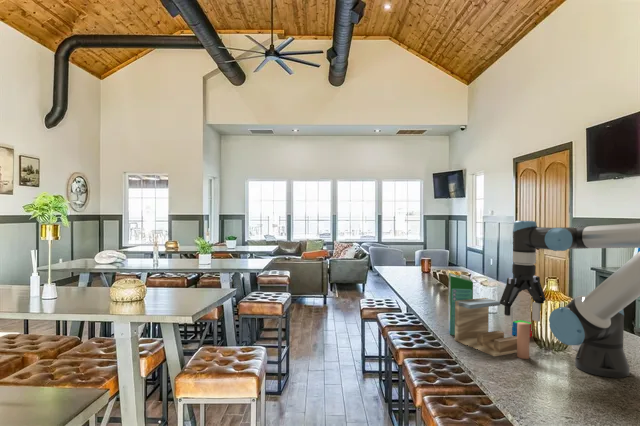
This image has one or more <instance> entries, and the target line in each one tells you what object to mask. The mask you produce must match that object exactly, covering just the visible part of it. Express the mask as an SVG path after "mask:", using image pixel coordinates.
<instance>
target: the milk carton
mask: <svg viewBox="0 0 640 426" xmlns="http://www.w3.org/2000/svg"><path fill="white" fill-rule="evenodd" d="M447 299H448V301H447V302H448V306H447V307H448V310H447V311H448V312H447V316H448V318H447V321H448V322H447V323H448V325H447V329H448V333H449V335H450V336H455V301H459V300H469V299H474V281H472V279H471V278H470V276H469V275H465V274H460V275H458V274H454V273H451V272H448V298H447Z"/></svg>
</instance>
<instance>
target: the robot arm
mask: <svg viewBox="0 0 640 426" xmlns="http://www.w3.org/2000/svg"><path fill="white" fill-rule="evenodd" d="M635 248H636V249H638V248H639V249H640V222H636V223H621V224H604V225H603V224H602V225H590V226H574V227H573V226H571V227H570V226H569V227H544V226H543V227H542V226H537V222H536V221H535V220H515V221H514V222H513V228H512V262H513V263H512V266H511V267H512V268H511V271H512V272H511V273H512V275H514V276H513V277H507V278H506V285H505V287H504V290H503V293H502V296H501V297H500V305H502V306H504V311H503V312H504V313H503V314H504V315H505V316H504V324H505V325H509V326H511V327H512V325H513V322H514V306H513V304H514V302H515V300H516V298H517V297H518V295H519V294H520V293H521V292H522V291H527V292H528V293H529V296H530V297H531V298H532V300H533V301H532V307H531V308H532V310H531V311H532V312H531V314H532V315H531V320H532V321H536V322H540V321H541V311H542V308H541V307H542V305H543V304H544V303H545V301H546V300H547V299H546V295H545V293H544V290H543V287H542V284H541V277H540V276H537V275H536V268H537V267H536V264H537V249H541V250H549V251H553V252H557V251H558V252H565V251H567V250H577V249H578V250H579V249H635ZM639 297H640V251H638V252H637V253H636V254H634V255H633V256H632V257H631V258H630V259H629V260H628V261H626V262H625V263H624V264H623V265H621V266H620V267H619V268H618V269H617V270H616V271H614V272H613V273H611V275H609V276H608V277H607V278H606V279H605V280H603V281H602V282H601V283H600V284H598V285H597V286H596V287H595V288H594V289H593V290H592V291H590V292H589V293H588V294H587V295H578V296H576V297H574V298H573V299H572V300H571V301H570V302H569V303H567V304H566V305H565V306H560V307H556V308H555V309H554V310H552V311H551V313H550V315H549V316H548V317H549V319H548V321H549V329H550V331H551V333H552V335H553V336H554V338H555V339H557V340H558V341H559V342H560V343H562V344H564V345H566V346H571V345H580V344H581V345H580V348H579V350H578V351H577V353H576V356H575V358H574V365H575V367H576V368H577V369H579V370H581V371H583V372H585V373H588V374H591V375H595V376H599V377H604V378H614V379H615V378H616V379H618V378H620V379H621V378H627V377H629V376H630V375H631V374H630V373H631V372H630V370H631V369H630V366H629V362H628V359H627V357H626V354H625V351H624V330H625V329H624V326H625V324H624V323H625V322H624V320H625V312H624V309H625V308H626V307H628V306H629V305H630V304H632V303H633V302H634V301H636V300H637V299H638V298H639Z"/></svg>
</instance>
